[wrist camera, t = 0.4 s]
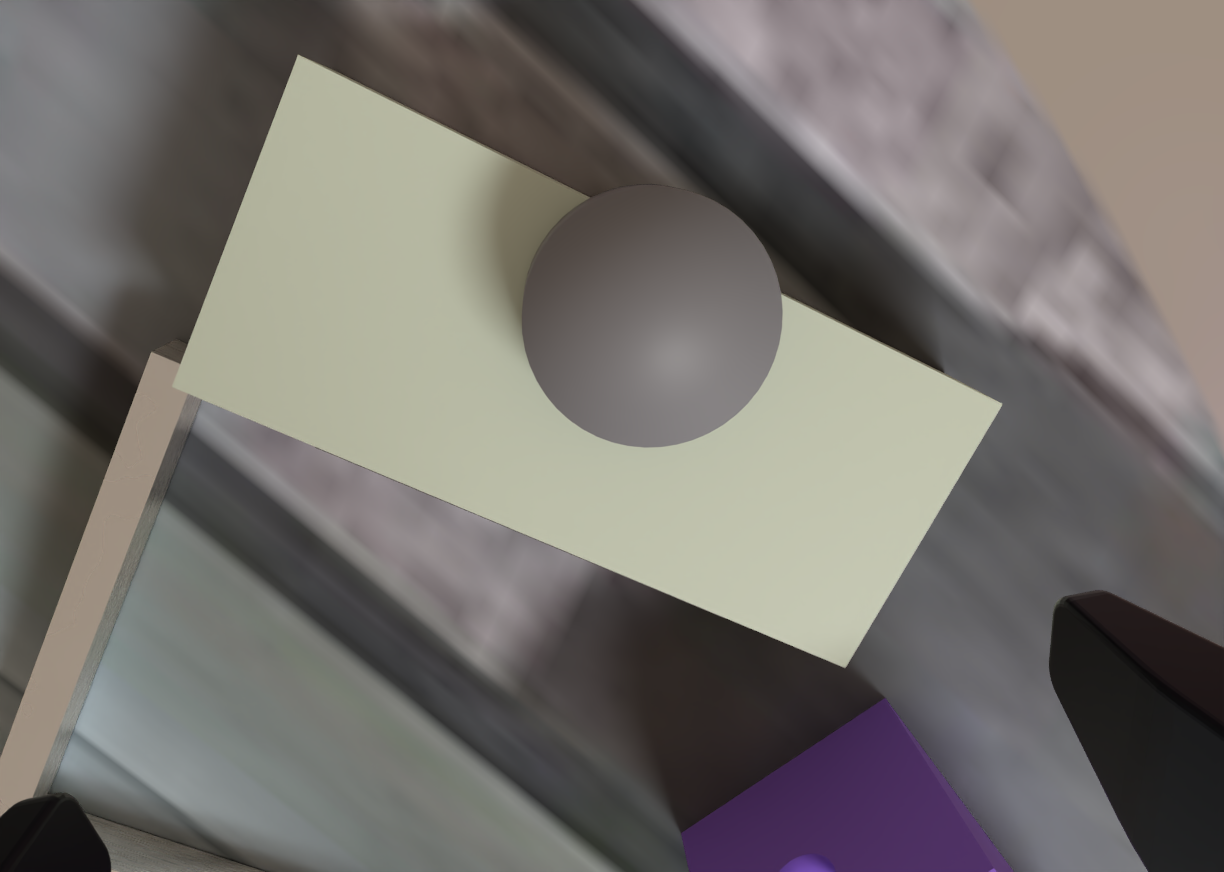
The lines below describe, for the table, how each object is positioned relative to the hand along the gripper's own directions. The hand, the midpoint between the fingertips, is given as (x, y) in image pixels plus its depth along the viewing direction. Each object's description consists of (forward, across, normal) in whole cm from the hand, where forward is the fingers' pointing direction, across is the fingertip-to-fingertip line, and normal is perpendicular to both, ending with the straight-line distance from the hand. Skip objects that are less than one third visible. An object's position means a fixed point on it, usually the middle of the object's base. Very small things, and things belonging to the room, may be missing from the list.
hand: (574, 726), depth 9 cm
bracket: (+12, -7, +20) cm, 24 cm away
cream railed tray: (+13, +3, +8) cm, 16 cm away
